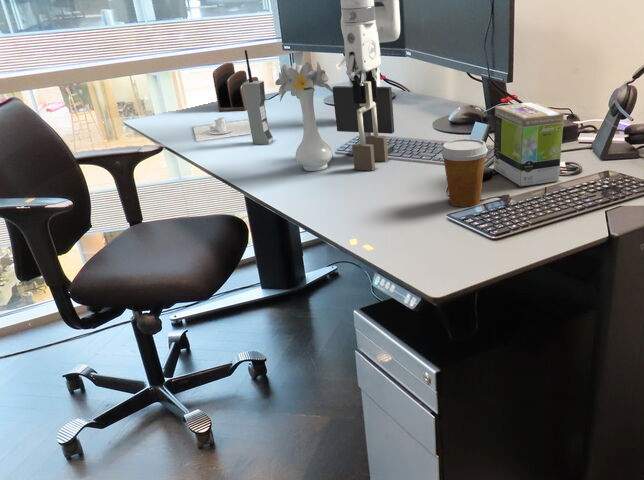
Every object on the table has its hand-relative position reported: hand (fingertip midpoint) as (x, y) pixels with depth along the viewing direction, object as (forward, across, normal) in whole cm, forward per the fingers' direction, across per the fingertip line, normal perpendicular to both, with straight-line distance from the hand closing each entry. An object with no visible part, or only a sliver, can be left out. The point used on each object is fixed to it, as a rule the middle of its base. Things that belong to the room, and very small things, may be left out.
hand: (365, 99), depth 157 cm
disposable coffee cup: (+16, -21, -32) cm, 41 cm away
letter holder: (+16, +60, +82) cm, 103 cm away
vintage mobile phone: (+16, +14, +42) cm, 47 cm away
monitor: (+16, +10, +5) cm, 20 cm away
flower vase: (+16, -5, +14) cm, 22 cm away
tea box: (+16, -1, -40) cm, 43 cm away
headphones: (+16, 0, 0) cm, 16 cm away
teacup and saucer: (+16, +26, +64) cm, 71 cm away
